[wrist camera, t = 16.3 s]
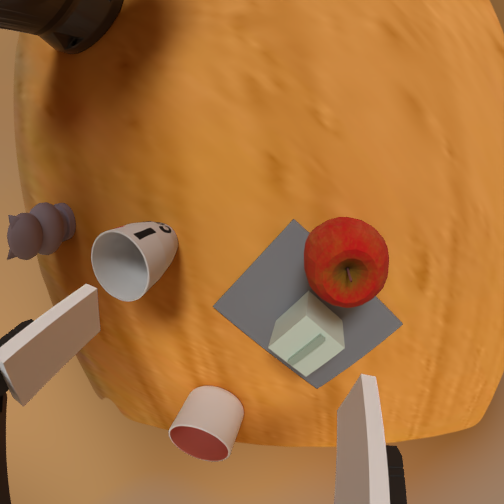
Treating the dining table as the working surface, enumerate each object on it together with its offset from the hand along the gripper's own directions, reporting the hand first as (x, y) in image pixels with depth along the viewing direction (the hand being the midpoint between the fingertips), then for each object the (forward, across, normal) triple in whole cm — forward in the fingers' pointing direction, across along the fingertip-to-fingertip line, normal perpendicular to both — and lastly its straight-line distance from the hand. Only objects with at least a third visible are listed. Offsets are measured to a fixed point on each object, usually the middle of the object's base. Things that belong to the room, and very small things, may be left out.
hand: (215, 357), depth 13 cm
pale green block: (+22, +7, -10) cm, 25 cm away
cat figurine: (+24, -34, -9) cm, 43 cm away
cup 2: (+23, -2, -33) cm, 40 cm away
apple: (+24, +8, 0) cm, 25 cm away
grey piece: (+23, +7, -10) cm, 26 cm away
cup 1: (+24, -14, -6) cm, 29 cm away
